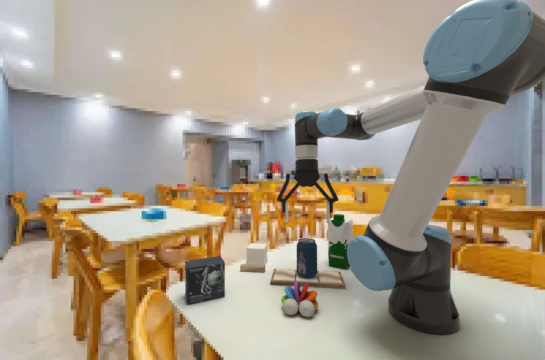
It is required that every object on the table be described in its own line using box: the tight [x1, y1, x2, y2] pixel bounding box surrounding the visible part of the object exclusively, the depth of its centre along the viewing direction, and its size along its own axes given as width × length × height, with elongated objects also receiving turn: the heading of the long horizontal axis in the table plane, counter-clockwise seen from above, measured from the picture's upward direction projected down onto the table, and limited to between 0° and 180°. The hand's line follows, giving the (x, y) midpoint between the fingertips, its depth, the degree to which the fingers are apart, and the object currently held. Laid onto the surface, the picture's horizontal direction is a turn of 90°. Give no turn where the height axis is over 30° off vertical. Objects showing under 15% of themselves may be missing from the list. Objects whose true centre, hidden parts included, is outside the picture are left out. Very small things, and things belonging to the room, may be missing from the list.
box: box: [184, 255, 226, 306], centre depth 72 cm, size 11×7×10 cm, turn 115°
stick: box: [239, 263, 266, 274], centre depth 90 cm, size 2×9×2 cm, turn 83°
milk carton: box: [327, 213, 354, 270], centre depth 96 cm, size 9×9×20 cm
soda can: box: [296, 237, 318, 279], centre depth 83 cm, size 7×7×12 cm
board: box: [269, 268, 346, 290], centre depth 83 cm, size 11×24×1 cm, turn 83°
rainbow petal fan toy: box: [280, 282, 319, 318], centre depth 64 cm, size 8×10×7 cm
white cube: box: [246, 242, 268, 266], centre depth 98 cm, size 7×7×7 cm
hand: (307, 222), depth 82 cm, fingers open, 13 cm apart
